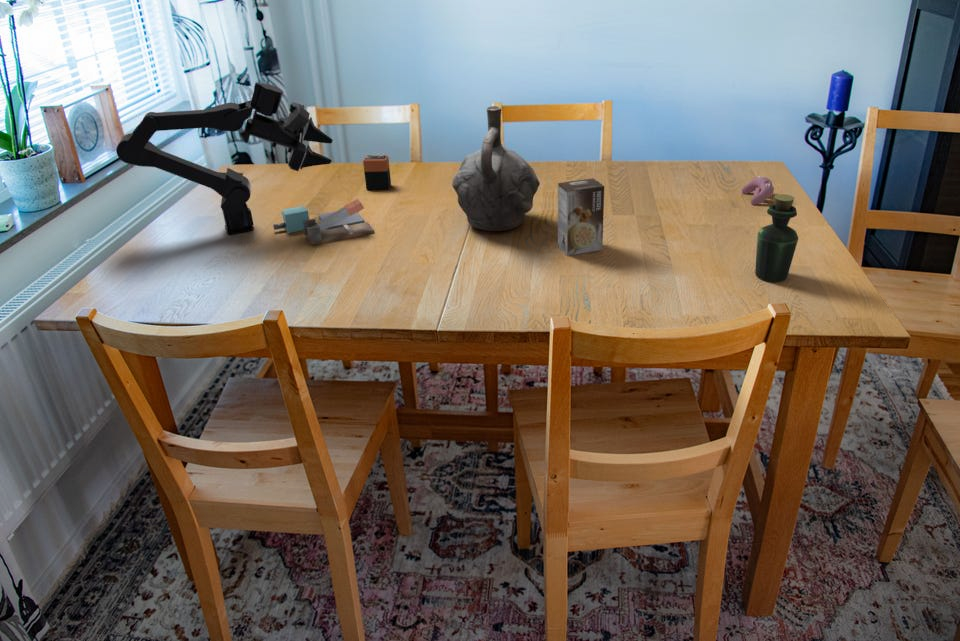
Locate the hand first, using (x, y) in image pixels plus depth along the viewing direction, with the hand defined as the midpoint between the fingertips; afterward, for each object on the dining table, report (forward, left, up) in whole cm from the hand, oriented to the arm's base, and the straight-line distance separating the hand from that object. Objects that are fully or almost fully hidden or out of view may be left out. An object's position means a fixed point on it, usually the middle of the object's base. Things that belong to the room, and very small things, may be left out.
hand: (331, 151), depth 194 cm
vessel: (+34, -25, -18) cm, 46 cm away
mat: (-1, -3, -18) cm, 18 cm away
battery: (+16, +17, -18) cm, 29 cm away
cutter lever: (-4, -12, -14) cm, 19 cm away
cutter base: (-3, -12, -18) cm, 22 cm away
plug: (-14, -3, -18) cm, 23 cm away
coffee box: (+46, -48, -18) cm, 69 cm away
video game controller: (+104, -43, -18) cm, 114 cm away
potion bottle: (+75, -80, -18) cm, 111 cm away
